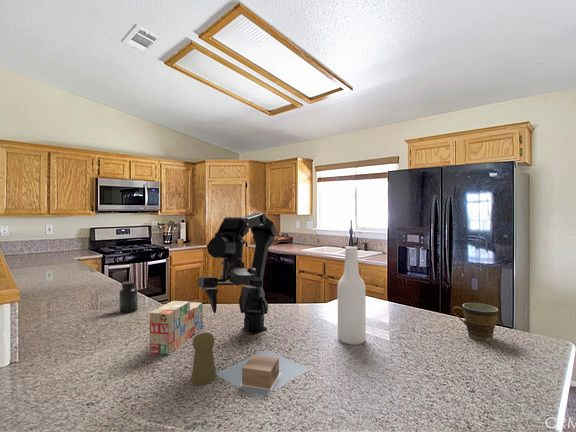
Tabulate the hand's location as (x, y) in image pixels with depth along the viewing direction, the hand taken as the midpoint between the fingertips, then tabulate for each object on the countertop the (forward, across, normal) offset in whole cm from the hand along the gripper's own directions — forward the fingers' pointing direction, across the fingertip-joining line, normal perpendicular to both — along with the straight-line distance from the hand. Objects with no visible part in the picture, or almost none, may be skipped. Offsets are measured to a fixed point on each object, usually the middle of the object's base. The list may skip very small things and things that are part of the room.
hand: (229, 311), depth 90 cm
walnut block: (+13, +2, -17) cm, 22 cm away
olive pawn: (+14, -10, -9) cm, 19 cm away
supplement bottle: (+8, -18, +62) cm, 65 cm away
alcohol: (+9, +37, -13) cm, 41 cm away
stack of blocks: (+12, -8, +19) cm, 24 cm away
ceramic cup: (+7, +72, -34) cm, 80 cm away
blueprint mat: (+13, +4, -14) cm, 20 cm away
